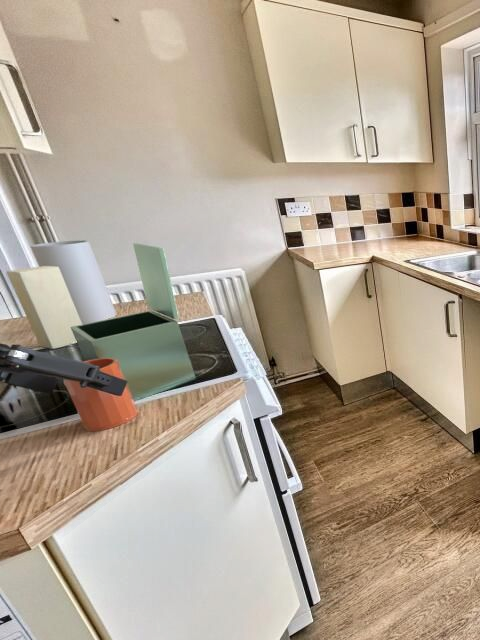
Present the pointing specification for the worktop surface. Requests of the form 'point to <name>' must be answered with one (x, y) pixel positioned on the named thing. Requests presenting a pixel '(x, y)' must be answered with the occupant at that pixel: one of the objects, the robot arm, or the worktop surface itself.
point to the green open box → (139, 350)
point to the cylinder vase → (78, 277)
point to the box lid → (156, 279)
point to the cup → (102, 400)
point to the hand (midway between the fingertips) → (88, 387)
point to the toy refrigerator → (46, 304)
